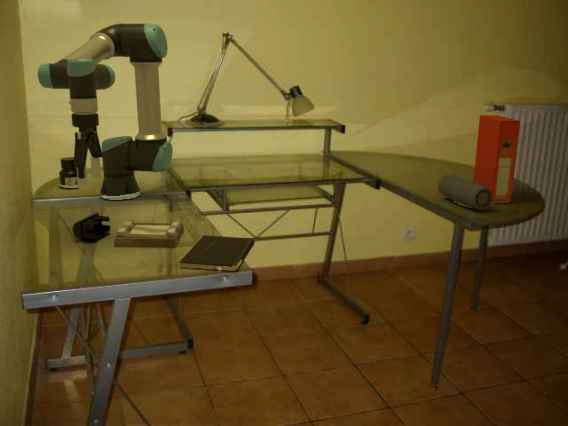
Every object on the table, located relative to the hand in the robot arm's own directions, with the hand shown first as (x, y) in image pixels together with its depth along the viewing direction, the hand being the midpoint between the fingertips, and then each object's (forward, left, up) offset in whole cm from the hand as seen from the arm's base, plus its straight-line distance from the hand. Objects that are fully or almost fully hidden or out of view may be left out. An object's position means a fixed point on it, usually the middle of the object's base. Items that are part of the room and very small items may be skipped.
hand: (90, 183), depth 176 cm
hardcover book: (+14, +40, -18) cm, 46 cm away
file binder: (-54, +141, -17) cm, 152 cm away
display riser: (0, +17, -17) cm, 24 cm away
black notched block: (0, -1, -18) cm, 18 cm away
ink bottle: (-64, -30, -17) cm, 73 cm away
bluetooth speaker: (-44, +127, -18) cm, 136 cm away
